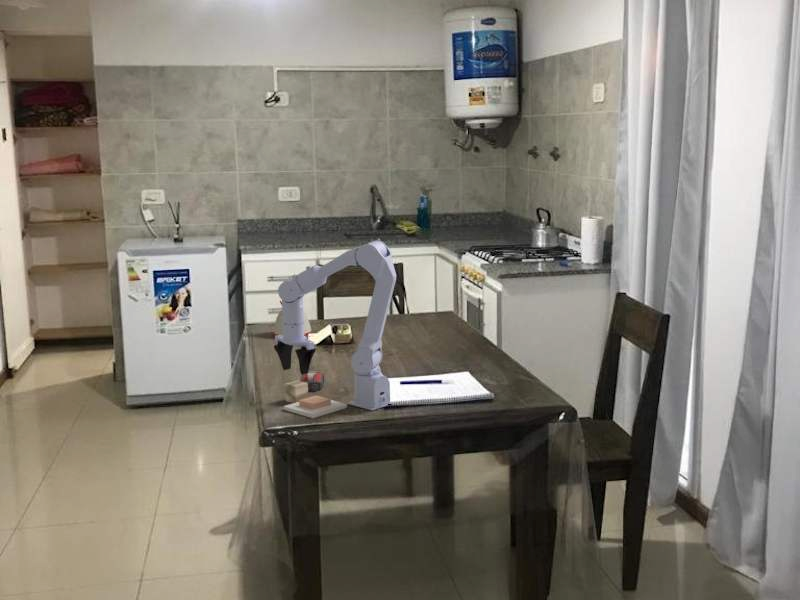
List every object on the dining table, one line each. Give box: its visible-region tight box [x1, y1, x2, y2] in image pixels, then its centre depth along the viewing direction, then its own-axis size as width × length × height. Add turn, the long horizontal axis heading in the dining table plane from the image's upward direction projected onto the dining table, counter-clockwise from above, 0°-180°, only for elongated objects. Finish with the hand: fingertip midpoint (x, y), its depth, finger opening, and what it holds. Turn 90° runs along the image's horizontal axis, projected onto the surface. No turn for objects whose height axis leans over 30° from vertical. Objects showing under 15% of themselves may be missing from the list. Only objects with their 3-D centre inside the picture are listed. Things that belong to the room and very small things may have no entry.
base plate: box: [282, 395, 348, 419], centre depth 248 cm, size 12×12×2 cm
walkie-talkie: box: [295, 371, 325, 392], centre depth 269 cm, size 9×4×20 cm
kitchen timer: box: [273, 300, 312, 336], centre depth 342 cm, size 14×14×15 cm
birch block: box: [284, 380, 309, 404], centre depth 257 cm, size 4×4×5 cm
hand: (295, 371), depth 256 cm, fingers open, 7 cm apart
